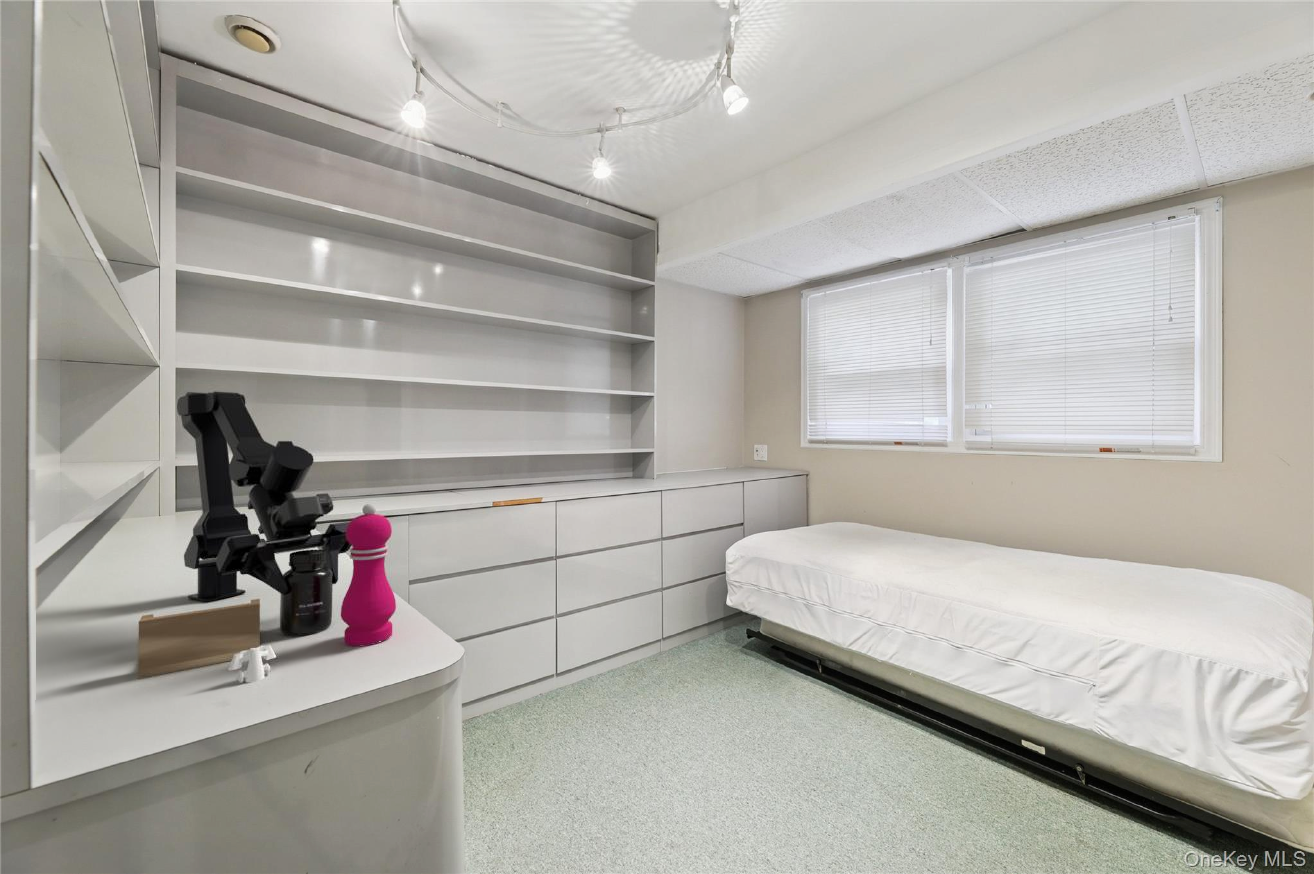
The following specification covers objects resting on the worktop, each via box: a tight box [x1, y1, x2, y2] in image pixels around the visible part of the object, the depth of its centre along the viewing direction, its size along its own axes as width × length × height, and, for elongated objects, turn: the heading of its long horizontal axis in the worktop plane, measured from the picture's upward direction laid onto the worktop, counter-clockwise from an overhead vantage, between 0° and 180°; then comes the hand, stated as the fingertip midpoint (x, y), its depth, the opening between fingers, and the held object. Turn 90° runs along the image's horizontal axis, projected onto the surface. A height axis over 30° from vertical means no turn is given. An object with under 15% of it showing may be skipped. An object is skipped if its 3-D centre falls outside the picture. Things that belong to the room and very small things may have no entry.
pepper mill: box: [340, 503, 397, 647], centre depth 79 cm, size 7×7×20 cm
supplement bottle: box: [279, 549, 334, 637], centre depth 83 cm, size 7×7×12 cm
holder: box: [137, 598, 261, 679], centre depth 74 cm, size 11×12×7 cm
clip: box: [227, 644, 277, 684], centre depth 66 cm, size 5×2×4 cm, turn 146°
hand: (311, 587), depth 82 cm, fingers closed on supplement bottle, 7 cm apart
